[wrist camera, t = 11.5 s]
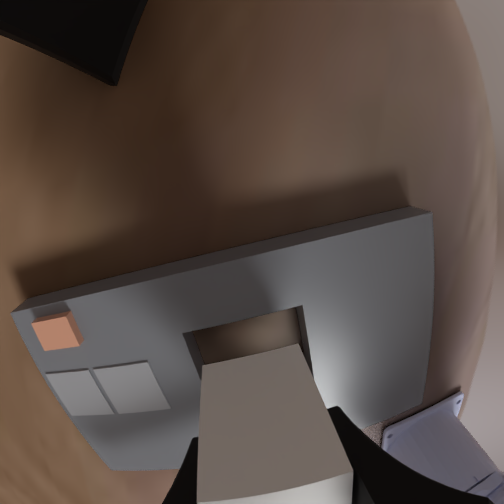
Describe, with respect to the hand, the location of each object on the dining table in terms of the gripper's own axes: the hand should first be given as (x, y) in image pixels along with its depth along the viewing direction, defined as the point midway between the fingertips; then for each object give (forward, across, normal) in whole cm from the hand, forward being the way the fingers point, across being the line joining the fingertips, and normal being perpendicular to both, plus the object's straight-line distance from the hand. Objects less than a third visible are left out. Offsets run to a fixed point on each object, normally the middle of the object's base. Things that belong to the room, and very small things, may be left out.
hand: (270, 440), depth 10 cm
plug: (+3, 0, 0) cm, 3 cm away
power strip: (+7, +1, +1) cm, 7 cm away
